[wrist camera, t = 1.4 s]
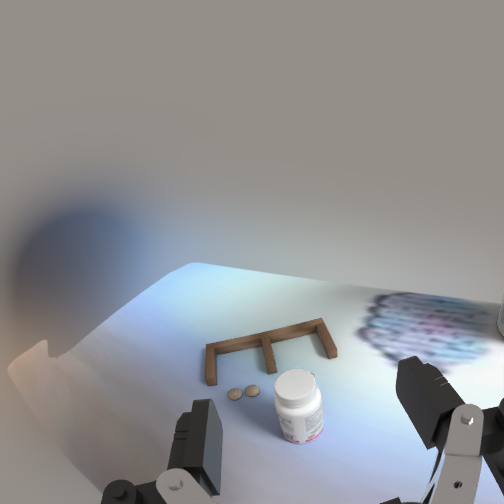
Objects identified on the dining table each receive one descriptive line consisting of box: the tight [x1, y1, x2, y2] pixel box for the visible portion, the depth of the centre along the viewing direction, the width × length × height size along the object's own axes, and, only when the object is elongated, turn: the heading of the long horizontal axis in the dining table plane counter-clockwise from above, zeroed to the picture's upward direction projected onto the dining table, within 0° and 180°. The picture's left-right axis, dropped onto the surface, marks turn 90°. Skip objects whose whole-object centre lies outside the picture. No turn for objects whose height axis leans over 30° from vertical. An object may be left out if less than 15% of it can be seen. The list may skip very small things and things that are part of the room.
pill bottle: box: [274, 369, 324, 444], centre depth 29 cm, size 5×5×8 cm
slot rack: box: [205, 318, 337, 400], centre depth 41 cm, size 18×11×2 cm, turn 96°
